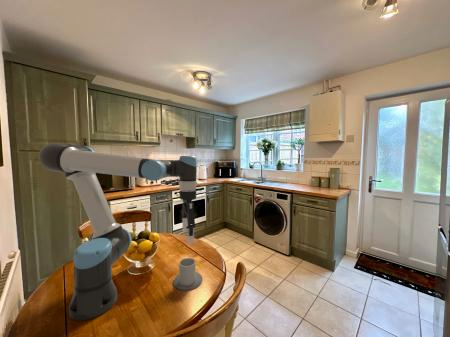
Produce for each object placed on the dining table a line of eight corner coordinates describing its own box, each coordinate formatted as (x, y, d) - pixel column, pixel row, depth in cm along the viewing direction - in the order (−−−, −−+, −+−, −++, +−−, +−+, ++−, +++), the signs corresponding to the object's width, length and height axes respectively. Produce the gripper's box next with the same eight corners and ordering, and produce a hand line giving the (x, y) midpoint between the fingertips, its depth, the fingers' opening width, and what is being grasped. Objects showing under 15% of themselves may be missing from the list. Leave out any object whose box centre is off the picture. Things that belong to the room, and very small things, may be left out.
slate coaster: (175, 293, 79) (175, 292, 79) (172, 275, 91) (172, 274, 91) (205, 286, 83) (205, 285, 83) (198, 270, 95) (198, 269, 95)
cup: (177, 286, 82) (177, 266, 82) (182, 272, 92) (182, 254, 92) (194, 286, 82) (194, 266, 82) (197, 272, 92) (197, 255, 92)
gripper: (202, 194, 75) (202, 247, 76) (191, 186, 98) (190, 226, 99) (183, 195, 72) (183, 250, 73) (176, 186, 96) (176, 228, 97)
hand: (187, 236), depth 86 cm, fingers open, 13 cm apart
